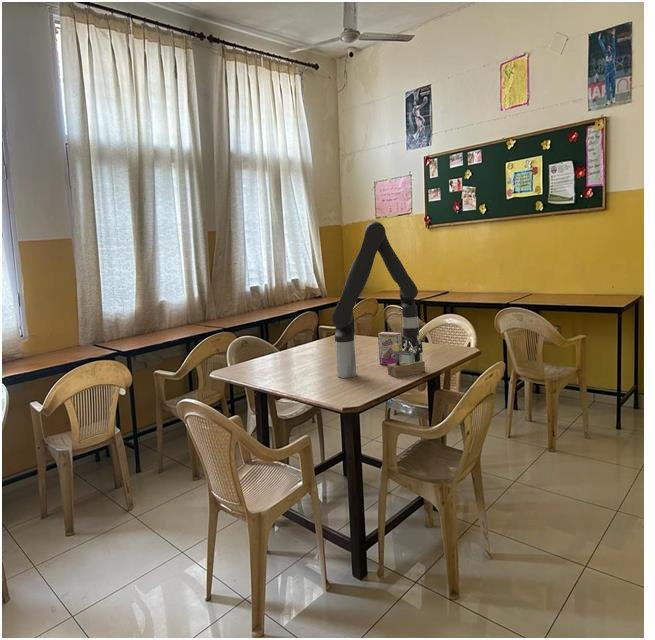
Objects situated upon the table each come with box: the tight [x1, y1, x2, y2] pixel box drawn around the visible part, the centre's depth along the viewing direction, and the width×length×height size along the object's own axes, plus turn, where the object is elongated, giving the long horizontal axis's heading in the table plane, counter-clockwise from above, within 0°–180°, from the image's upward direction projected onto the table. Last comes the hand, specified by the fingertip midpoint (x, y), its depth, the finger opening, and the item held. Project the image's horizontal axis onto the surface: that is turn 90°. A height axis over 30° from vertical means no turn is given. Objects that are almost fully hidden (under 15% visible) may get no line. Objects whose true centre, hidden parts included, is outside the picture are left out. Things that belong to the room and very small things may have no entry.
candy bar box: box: [377, 331, 403, 366], centre depth 256 cm, size 11×5×16 cm, turn 56°
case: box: [387, 360, 426, 379], centre depth 239 cm, size 7×16×5 cm, turn 114°
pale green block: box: [402, 349, 423, 364], centre depth 239 cm, size 6×7×5 cm
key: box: [390, 343, 413, 365], centre depth 234 cm, size 2×11×10 cm, turn 48°
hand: (412, 359), depth 239 cm, fingers open, 8 cm apart
